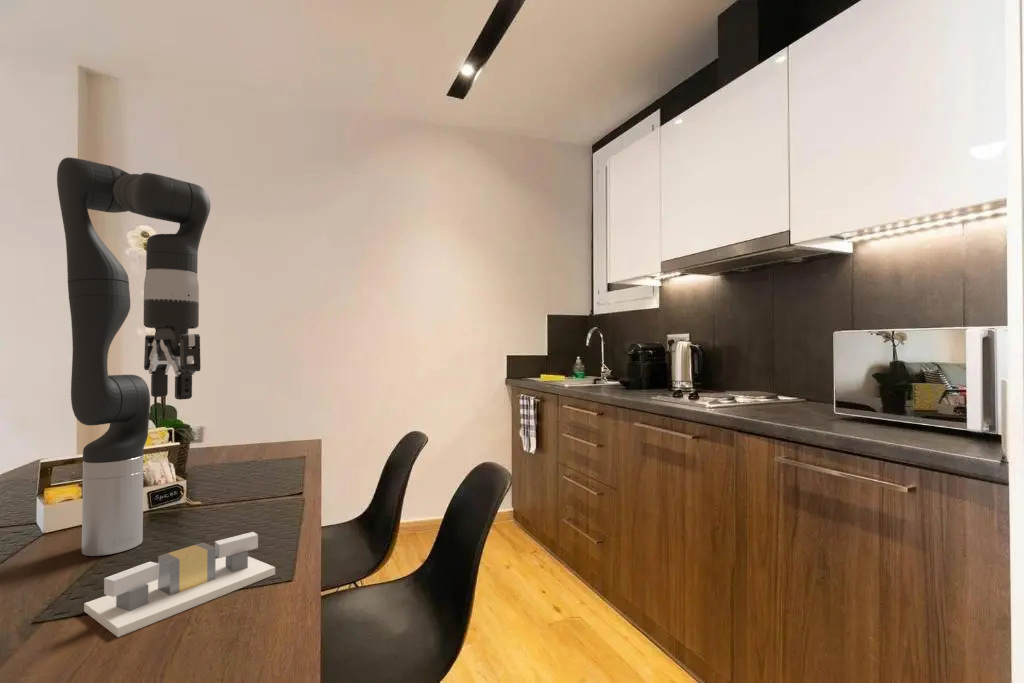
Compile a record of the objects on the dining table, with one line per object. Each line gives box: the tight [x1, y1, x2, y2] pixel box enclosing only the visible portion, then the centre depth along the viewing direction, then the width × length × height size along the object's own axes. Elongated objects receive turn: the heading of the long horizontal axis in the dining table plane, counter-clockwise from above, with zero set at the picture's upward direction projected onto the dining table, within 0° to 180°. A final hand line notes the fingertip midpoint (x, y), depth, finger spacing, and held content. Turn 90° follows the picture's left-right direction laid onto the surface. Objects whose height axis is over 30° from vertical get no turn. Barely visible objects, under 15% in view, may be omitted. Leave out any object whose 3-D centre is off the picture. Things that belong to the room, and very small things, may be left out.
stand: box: [83, 531, 276, 638], centre depth 78 cm, size 12×22×6 cm, turn 147°
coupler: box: [157, 542, 217, 596], centre depth 78 cm, size 4×6×5 cm, turn 147°
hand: (170, 397), depth 82 cm, fingers open, 8 cm apart
